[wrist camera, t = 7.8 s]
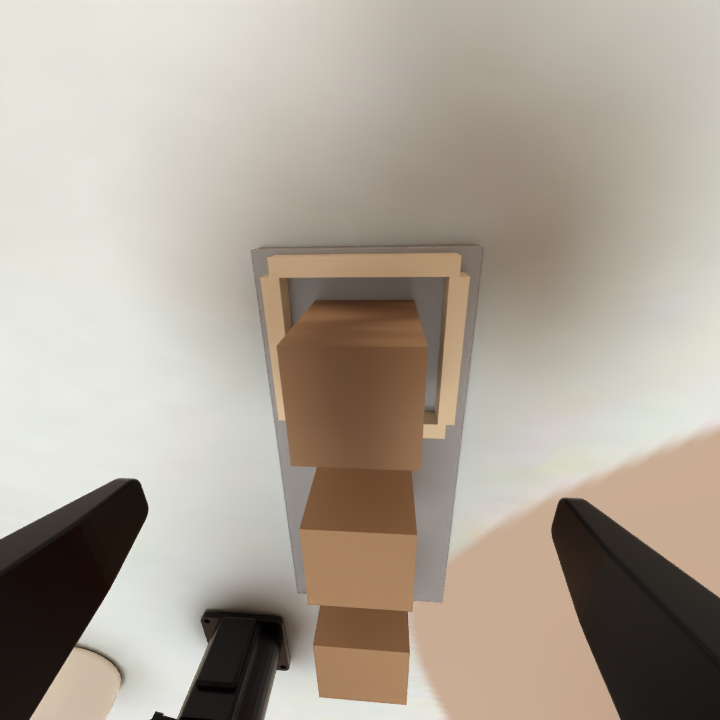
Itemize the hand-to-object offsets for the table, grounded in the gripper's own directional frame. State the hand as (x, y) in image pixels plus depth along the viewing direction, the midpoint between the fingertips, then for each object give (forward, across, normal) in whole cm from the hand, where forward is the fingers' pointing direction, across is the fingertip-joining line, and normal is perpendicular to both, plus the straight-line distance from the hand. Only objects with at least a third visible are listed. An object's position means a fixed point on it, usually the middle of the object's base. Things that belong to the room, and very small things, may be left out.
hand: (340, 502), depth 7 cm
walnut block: (+10, 0, 0) cm, 10 cm away
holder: (+11, 0, +7) cm, 13 cm away
